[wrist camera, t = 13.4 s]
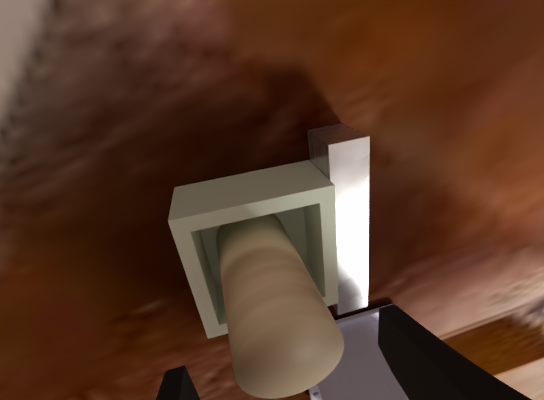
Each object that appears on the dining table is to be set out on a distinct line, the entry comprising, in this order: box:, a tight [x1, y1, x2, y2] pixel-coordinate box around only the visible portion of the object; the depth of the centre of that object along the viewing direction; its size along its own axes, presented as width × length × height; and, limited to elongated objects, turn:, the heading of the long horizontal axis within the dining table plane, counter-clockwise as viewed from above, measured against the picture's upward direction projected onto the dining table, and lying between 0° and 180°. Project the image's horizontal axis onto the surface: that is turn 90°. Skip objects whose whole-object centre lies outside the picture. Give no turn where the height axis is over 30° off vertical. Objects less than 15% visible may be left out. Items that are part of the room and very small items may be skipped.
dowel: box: [216, 213, 344, 399], centre depth 14 cm, size 4×4×8 cm
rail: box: [307, 123, 370, 315], centre depth 17 cm, size 11×2×3 cm, turn 9°
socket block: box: [168, 160, 339, 339], centre depth 17 cm, size 8×8×4 cm
